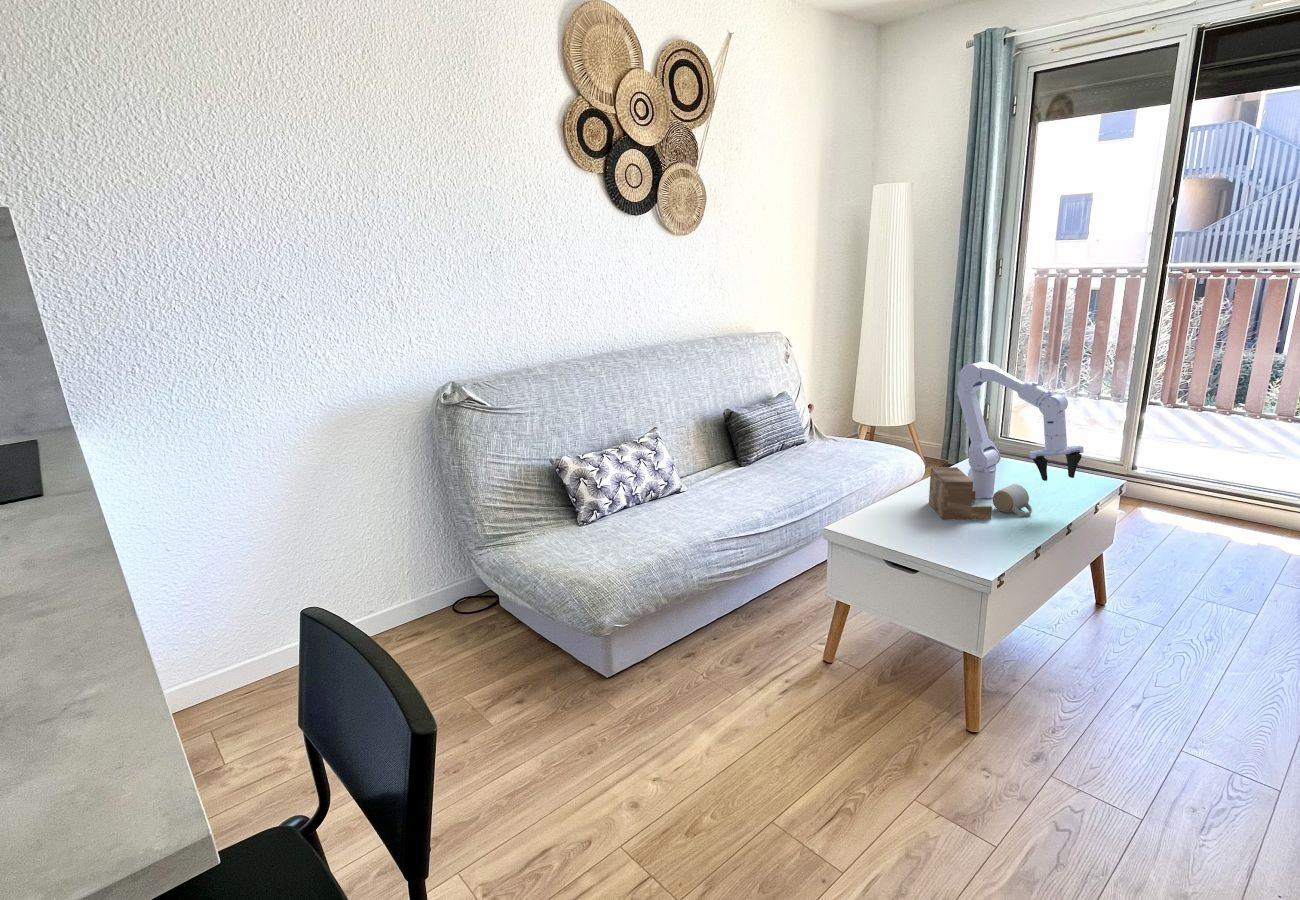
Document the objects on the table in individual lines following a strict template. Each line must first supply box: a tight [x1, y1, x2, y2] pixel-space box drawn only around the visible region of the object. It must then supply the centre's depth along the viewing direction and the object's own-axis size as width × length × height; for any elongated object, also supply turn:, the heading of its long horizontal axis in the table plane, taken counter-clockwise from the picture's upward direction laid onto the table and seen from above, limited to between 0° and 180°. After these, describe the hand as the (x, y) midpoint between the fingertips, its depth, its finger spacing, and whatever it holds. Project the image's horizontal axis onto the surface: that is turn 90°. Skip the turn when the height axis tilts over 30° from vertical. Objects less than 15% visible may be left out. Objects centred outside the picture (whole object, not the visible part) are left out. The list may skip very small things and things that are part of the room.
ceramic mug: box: [992, 483, 1033, 517], centre depth 215 cm, size 11×8×8 cm
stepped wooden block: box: [928, 466, 993, 521], centre depth 217 cm, size 15×14×12 cm
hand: (1057, 478), depth 212 cm, fingers open, 7 cm apart
